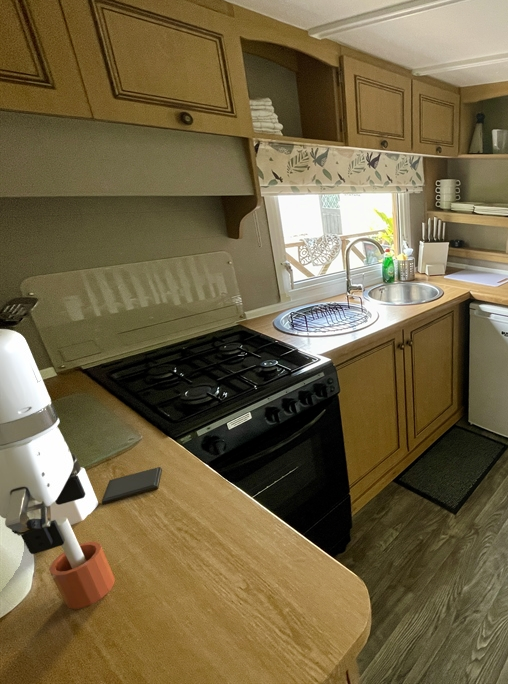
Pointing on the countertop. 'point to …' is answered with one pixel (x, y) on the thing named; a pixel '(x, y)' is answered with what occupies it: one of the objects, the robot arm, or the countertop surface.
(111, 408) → the countertop surface
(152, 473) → the tablet
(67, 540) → the stylus
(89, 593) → the pen pot
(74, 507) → the jar
